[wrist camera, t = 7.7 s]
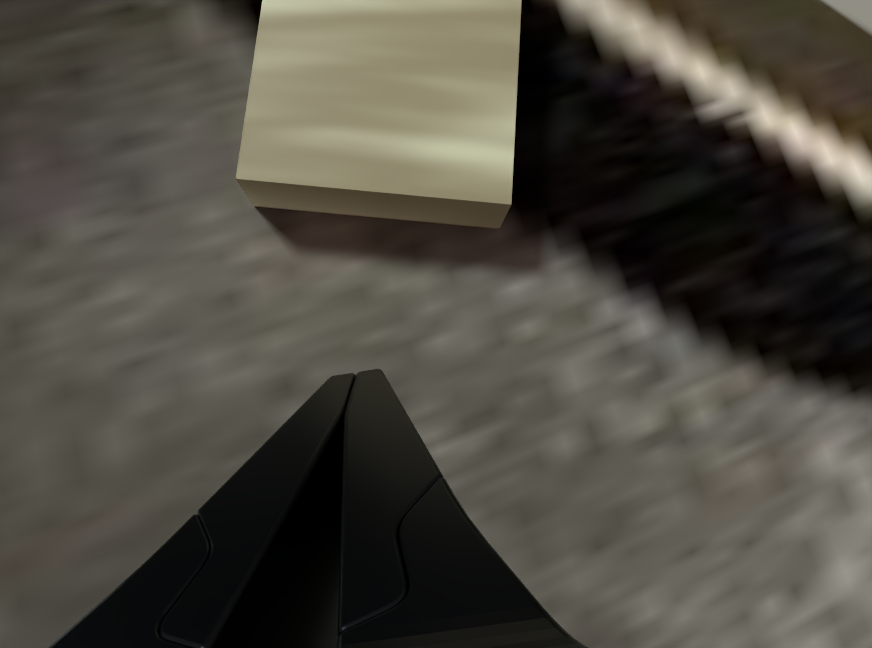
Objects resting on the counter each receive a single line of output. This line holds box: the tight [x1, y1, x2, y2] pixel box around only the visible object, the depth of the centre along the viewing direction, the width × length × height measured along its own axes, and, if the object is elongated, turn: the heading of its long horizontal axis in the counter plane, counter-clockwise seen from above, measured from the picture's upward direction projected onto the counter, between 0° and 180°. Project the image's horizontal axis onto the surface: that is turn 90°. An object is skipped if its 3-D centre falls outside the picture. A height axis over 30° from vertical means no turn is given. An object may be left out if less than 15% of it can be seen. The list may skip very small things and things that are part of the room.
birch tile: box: [236, 0, 522, 229], centre depth 18 cm, size 2×8×12 cm
